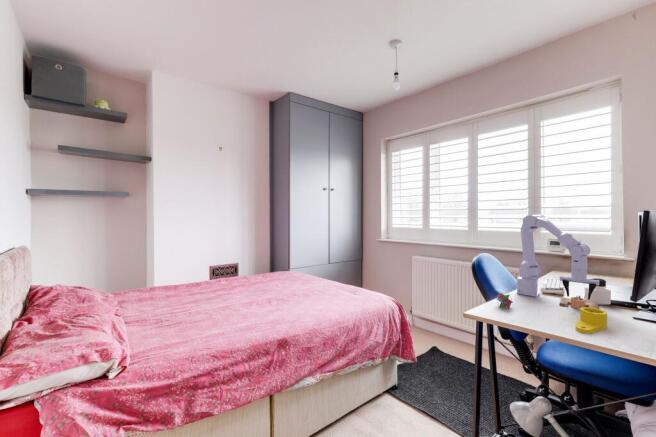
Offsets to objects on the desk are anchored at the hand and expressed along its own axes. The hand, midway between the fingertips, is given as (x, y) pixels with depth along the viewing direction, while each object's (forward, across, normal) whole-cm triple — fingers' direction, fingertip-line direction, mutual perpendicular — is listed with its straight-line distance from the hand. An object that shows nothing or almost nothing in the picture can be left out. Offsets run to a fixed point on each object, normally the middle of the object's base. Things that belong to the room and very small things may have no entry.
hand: (578, 297), depth 145 cm
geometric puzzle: (+5, -27, -22) cm, 35 cm away
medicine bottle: (+5, +7, +15) cm, 18 cm away
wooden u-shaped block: (+5, 0, +4) cm, 6 cm away
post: (+5, 0, 0) cm, 5 cm away
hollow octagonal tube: (+4, 0, -1) cm, 4 cm away
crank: (+5, +4, -28) cm, 29 cm away
